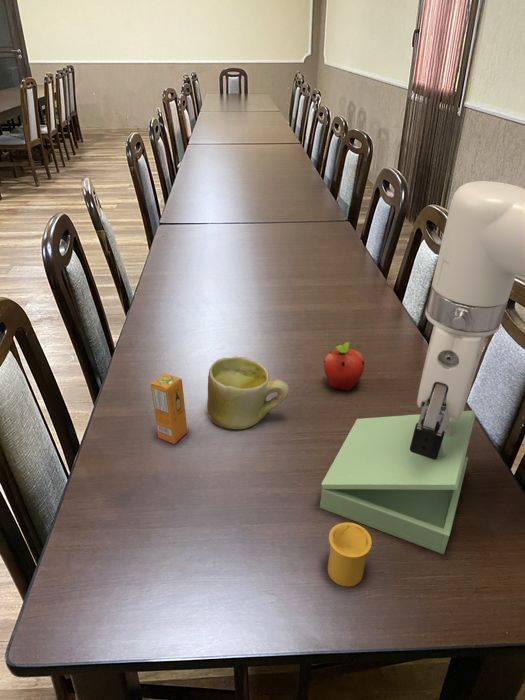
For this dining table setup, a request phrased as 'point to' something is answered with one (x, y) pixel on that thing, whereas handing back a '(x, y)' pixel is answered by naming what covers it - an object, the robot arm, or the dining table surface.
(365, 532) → the cup
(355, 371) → the apple
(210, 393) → the mug
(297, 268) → the dining table surface
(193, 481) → the dining table surface
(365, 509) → the green tray box
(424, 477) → the lid
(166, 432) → the supplement box
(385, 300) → the dining table surface
